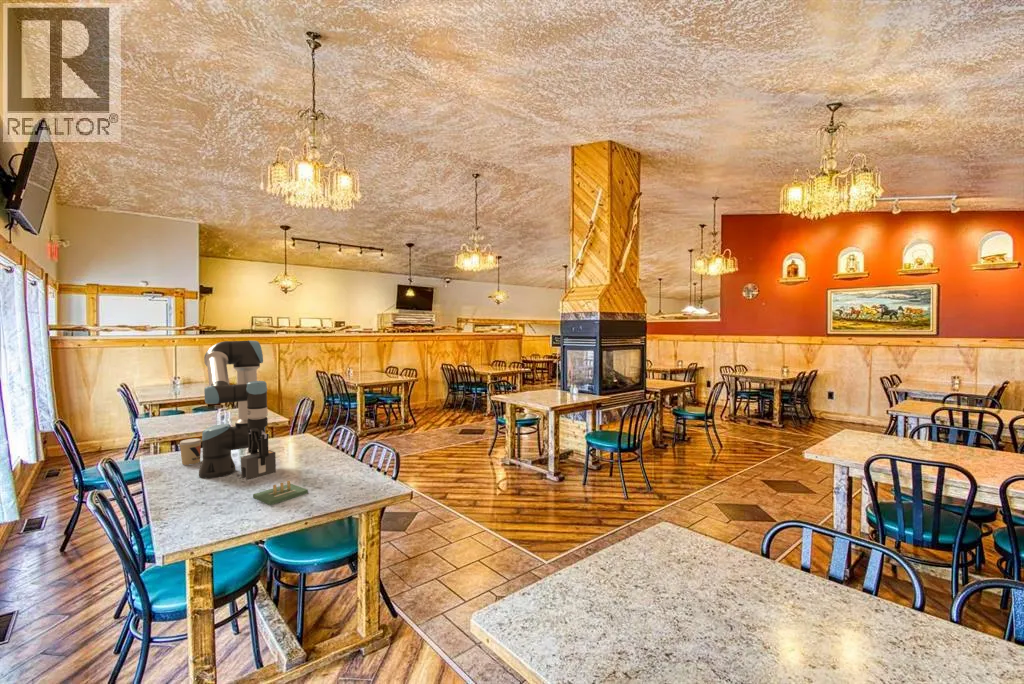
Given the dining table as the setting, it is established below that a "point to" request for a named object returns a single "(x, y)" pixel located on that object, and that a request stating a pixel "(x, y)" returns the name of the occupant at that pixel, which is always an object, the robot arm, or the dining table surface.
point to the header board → (280, 493)
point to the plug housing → (251, 465)
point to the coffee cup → (190, 451)
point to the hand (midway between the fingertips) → (258, 470)
